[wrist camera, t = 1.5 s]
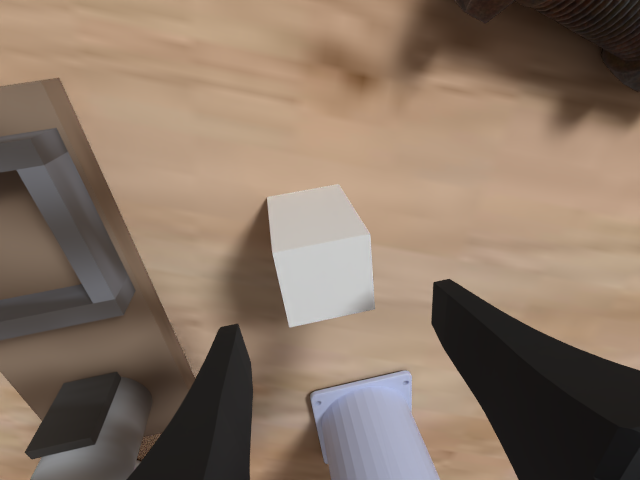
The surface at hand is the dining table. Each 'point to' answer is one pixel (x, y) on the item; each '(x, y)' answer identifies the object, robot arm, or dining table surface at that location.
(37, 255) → the brown board with socket
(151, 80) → the dining table surface
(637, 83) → the bolt
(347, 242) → the white block
